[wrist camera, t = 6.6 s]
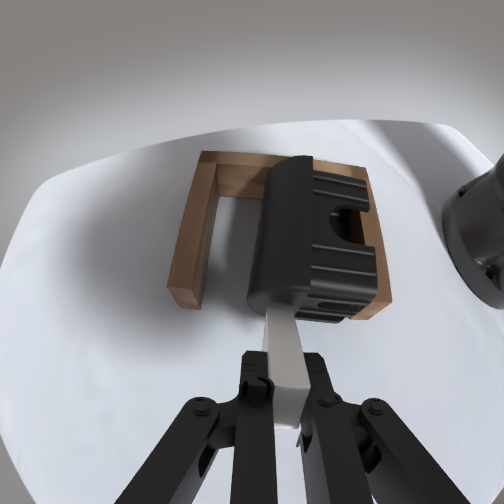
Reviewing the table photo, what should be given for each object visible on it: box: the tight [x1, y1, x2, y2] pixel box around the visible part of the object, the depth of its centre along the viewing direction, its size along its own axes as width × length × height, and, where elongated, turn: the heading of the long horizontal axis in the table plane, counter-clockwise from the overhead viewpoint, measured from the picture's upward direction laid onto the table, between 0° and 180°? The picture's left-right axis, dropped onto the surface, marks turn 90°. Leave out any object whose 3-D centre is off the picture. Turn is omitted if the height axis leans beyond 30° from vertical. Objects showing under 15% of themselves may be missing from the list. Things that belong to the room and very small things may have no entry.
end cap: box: [247, 155, 378, 323], centre depth 19 cm, size 10×7×7 cm
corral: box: [167, 151, 392, 320], centre depth 21 cm, size 14×12×4 cm
